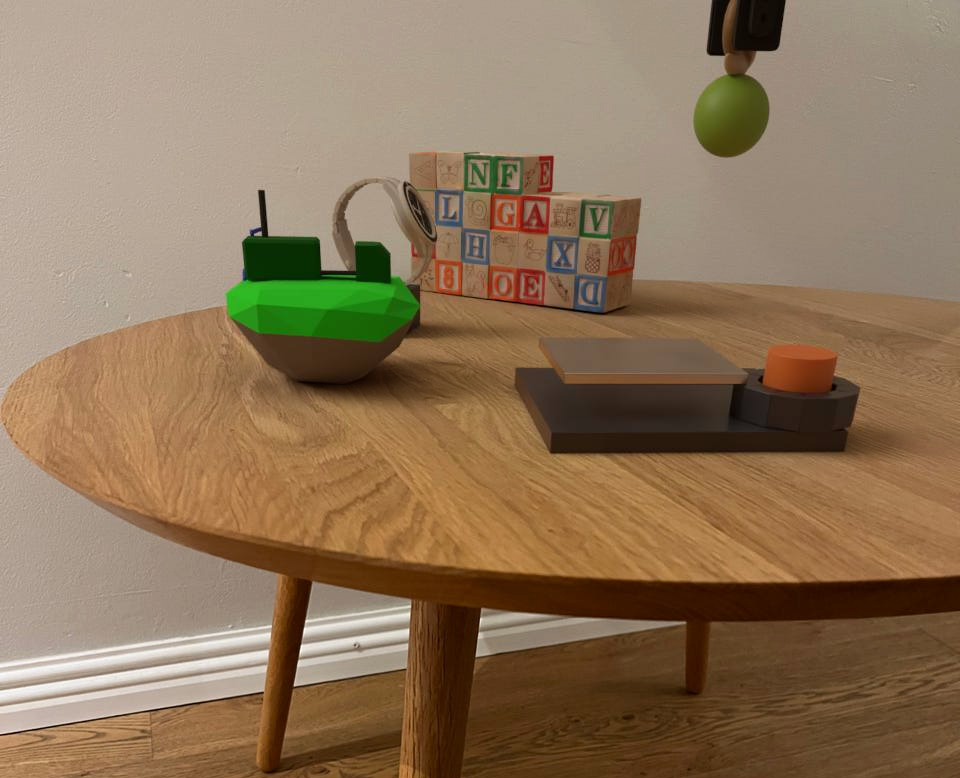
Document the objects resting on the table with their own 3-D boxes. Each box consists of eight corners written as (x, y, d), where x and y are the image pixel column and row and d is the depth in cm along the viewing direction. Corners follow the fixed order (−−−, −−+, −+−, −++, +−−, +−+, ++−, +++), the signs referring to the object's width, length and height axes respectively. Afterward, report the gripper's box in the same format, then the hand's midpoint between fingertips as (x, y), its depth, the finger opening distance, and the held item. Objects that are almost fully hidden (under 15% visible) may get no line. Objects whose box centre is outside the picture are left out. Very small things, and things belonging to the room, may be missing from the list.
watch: (426, 339, 72) (426, 181, 66) (328, 332, 73) (320, 177, 68) (443, 325, 77) (444, 177, 71) (350, 319, 78) (344, 173, 73)
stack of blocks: (632, 305, 87) (647, 158, 81) (603, 315, 83) (617, 160, 77) (444, 281, 97) (445, 148, 91) (409, 289, 92) (407, 149, 86)
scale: (769, 386, 62) (778, 340, 60) (868, 454, 50) (881, 398, 48) (514, 386, 60) (516, 338, 59) (550, 456, 48) (554, 398, 46)
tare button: (813, 381, 53) (821, 344, 52) (841, 398, 49) (849, 359, 48) (752, 381, 52) (758, 344, 51) (776, 398, 49) (783, 359, 48)
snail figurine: (775, 157, 71) (804, -35, 65) (750, 160, 66) (779, -47, 60) (707, 154, 74) (729, -31, 68) (678, 157, 69) (699, -42, 63)
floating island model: (222, 401, 55) (199, 197, 50) (247, 356, 65) (231, 183, 60) (423, 402, 56) (422, 202, 51) (418, 358, 66) (417, 187, 61)
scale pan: (696, 348, 58) (698, 338, 57) (747, 384, 50) (749, 373, 50) (538, 347, 57) (538, 337, 56) (564, 384, 49) (565, 373, 49)
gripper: (908, -347, 51) (841, 46, 60) (790, -242, 66) (750, 60, 75) (775, -354, 50) (728, 44, 59) (686, -247, 65) (659, 59, 74)
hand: (741, 50), depth 67 cm, fingers closed on snail figurine, 5 cm apart
